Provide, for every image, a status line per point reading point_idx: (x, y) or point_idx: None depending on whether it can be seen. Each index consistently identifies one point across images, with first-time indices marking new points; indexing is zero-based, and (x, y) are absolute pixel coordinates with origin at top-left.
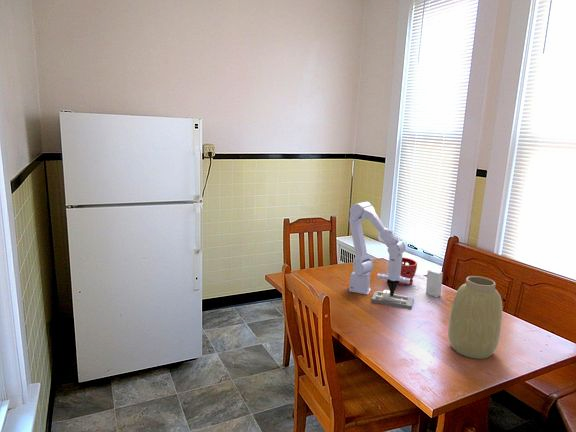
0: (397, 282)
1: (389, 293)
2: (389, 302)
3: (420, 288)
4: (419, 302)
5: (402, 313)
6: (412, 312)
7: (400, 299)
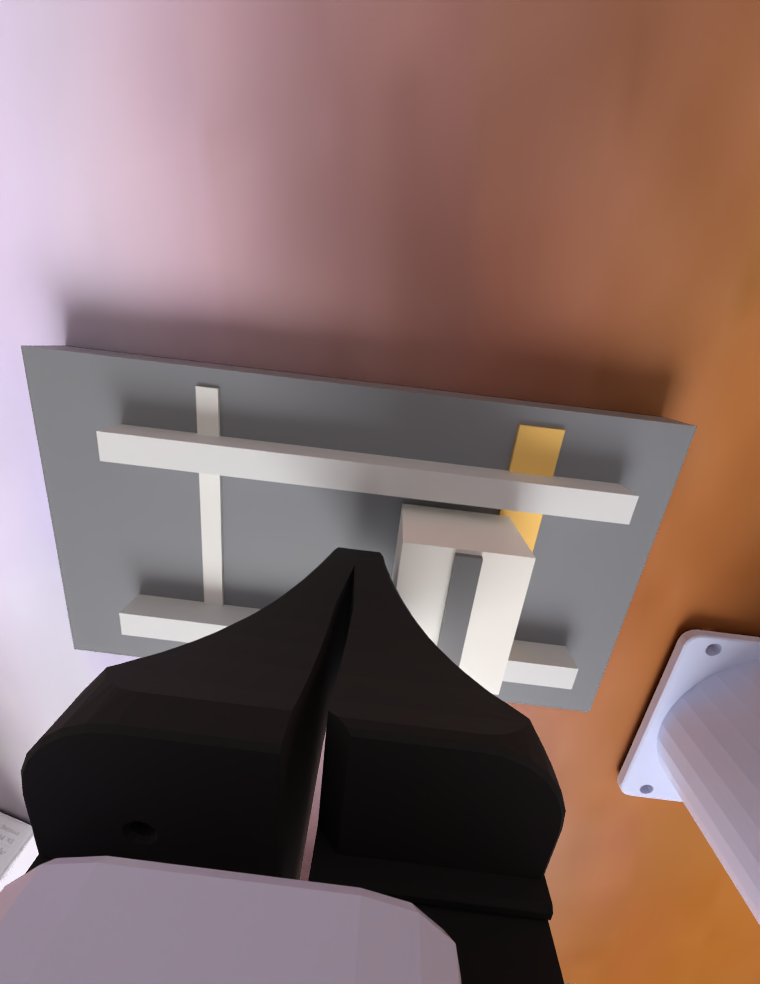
0: (86, 842)
1: (398, 566)
2: (386, 387)
3: None
4: (32, 606)
5: (151, 97)
6: (18, 223)
7: (230, 549)
